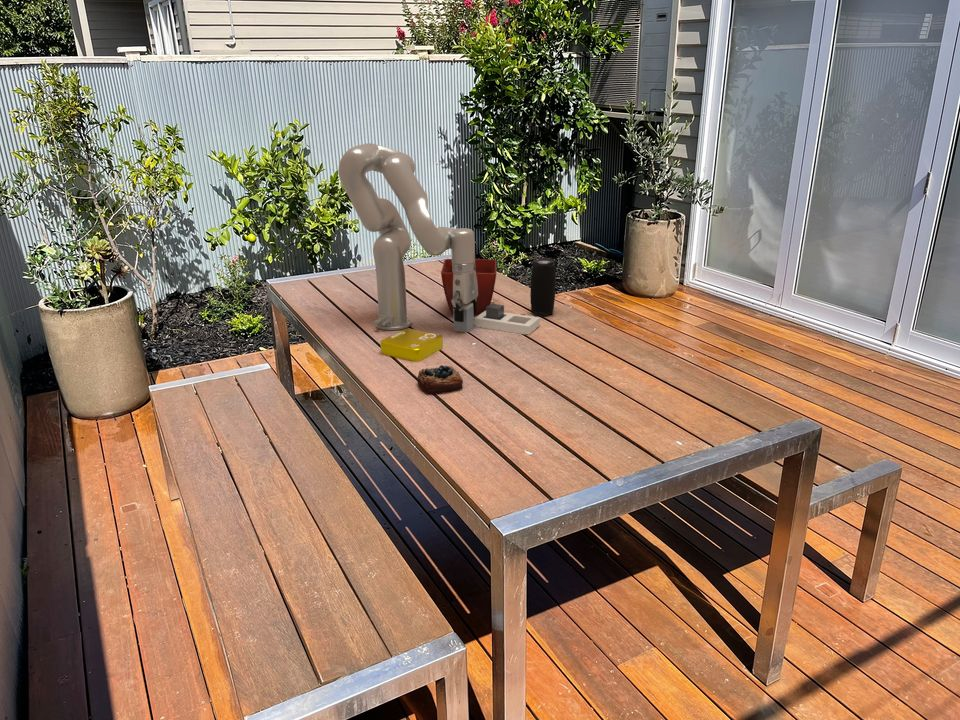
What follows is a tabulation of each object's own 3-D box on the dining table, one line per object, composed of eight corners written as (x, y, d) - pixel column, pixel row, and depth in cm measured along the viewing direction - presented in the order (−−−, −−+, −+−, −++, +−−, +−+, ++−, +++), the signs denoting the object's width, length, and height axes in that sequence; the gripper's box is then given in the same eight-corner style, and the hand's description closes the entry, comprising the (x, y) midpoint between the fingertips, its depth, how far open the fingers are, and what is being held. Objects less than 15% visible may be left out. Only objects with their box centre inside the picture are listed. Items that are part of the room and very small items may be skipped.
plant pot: (496, 319, 247) (496, 272, 240) (441, 319, 247) (440, 272, 241) (496, 303, 264) (496, 259, 258) (445, 302, 265) (444, 258, 258)
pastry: (413, 381, 197) (413, 362, 195) (454, 375, 201) (453, 356, 199) (425, 397, 188) (424, 377, 185) (467, 390, 192) (467, 370, 189)
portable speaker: (528, 316, 249) (529, 262, 242) (532, 308, 258) (533, 256, 250) (552, 318, 247) (554, 264, 240) (555, 310, 256) (557, 257, 249)
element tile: (407, 339, 229) (406, 326, 227) (445, 348, 222) (445, 333, 220) (378, 354, 217) (377, 339, 215) (418, 363, 210) (417, 348, 208)
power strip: (528, 335, 232) (529, 316, 229) (474, 326, 240) (474, 308, 237) (547, 319, 247) (548, 301, 244) (495, 311, 254) (495, 294, 252)
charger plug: (467, 332, 234) (466, 306, 231) (453, 330, 236) (453, 305, 233) (473, 328, 238) (473, 302, 235) (460, 326, 240) (460, 300, 237)
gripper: (462, 274, 220) (464, 326, 226) (485, 261, 235) (486, 310, 241) (441, 272, 223) (443, 323, 230) (465, 260, 238) (467, 308, 244)
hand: (465, 317), depth 235 cm, fingers open, 9 cm apart
